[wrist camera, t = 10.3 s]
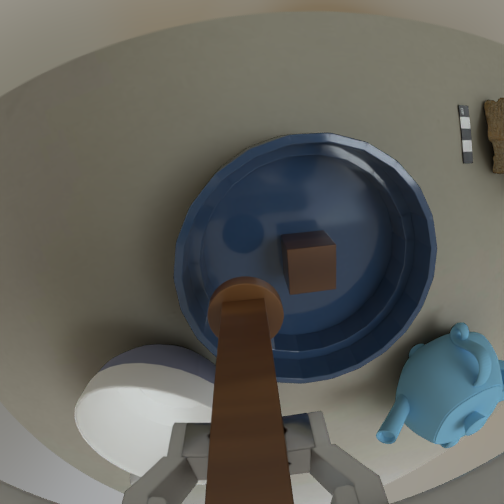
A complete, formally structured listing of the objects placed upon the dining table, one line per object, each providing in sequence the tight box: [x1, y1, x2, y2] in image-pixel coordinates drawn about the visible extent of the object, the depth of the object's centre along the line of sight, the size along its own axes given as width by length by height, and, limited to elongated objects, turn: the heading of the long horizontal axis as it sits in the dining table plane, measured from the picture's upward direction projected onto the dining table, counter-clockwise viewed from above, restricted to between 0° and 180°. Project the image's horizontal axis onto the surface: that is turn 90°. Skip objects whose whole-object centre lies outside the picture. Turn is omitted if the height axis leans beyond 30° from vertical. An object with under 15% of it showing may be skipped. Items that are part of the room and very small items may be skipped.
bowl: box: [74, 344, 216, 485], centre depth 27 cm, size 16×16×10 cm
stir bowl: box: [174, 133, 437, 383], centre depth 24 cm, size 19×19×6 cm
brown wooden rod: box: [205, 276, 294, 504], centre depth 12 cm, size 4×4×14 cm
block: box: [281, 230, 336, 295], centre depth 24 cm, size 4×4×4 cm
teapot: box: [376, 323, 504, 448], centre depth 27 cm, size 20×17×12 cm
